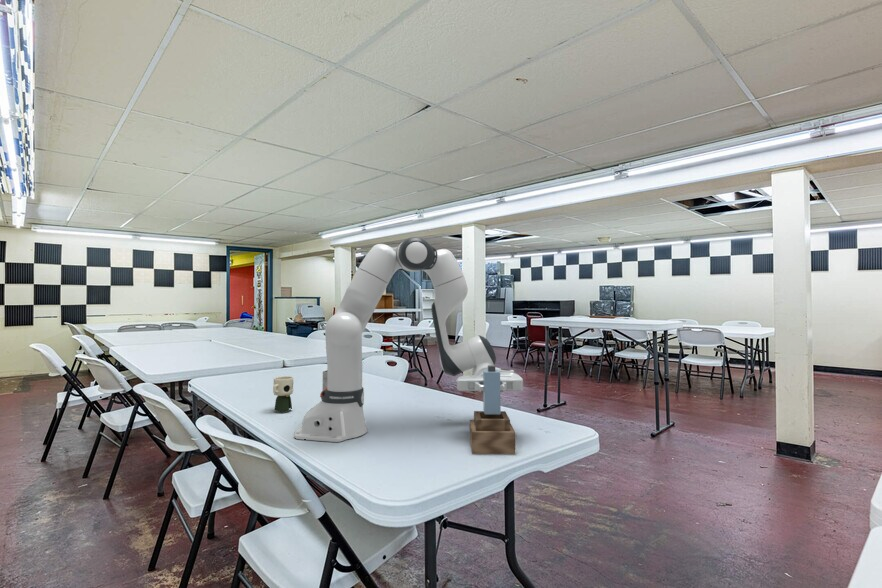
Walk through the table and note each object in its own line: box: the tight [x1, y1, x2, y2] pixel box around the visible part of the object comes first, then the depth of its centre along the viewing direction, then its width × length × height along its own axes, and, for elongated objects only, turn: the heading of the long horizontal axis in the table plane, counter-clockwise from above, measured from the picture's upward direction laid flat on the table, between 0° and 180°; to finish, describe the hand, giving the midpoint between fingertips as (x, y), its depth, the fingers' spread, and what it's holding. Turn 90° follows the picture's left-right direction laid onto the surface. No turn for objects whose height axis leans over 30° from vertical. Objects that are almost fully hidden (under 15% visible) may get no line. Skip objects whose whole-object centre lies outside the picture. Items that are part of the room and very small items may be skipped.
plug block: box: [482, 364, 502, 414], centre depth 120 cm, size 4×4×14 cm
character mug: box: [272, 375, 294, 413], centre depth 158 cm, size 11×7×13 cm, turn 162°
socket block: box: [469, 410, 516, 455], centre depth 120 cm, size 12×12×9 cm
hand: (492, 388), depth 119 cm, fingers closed on plug block, 4 cm apart
